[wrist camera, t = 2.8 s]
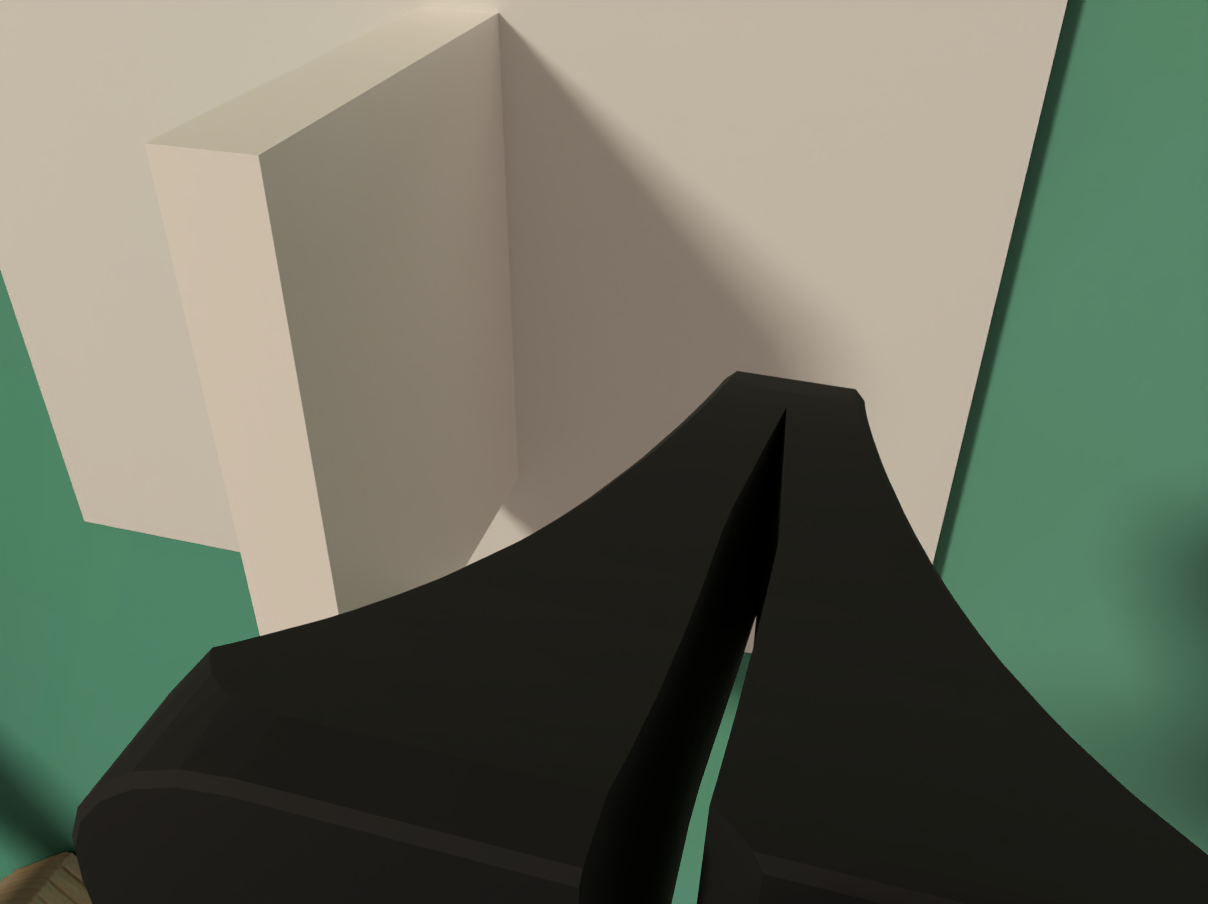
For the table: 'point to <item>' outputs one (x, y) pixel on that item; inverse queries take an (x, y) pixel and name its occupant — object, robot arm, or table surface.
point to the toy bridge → (46, 883)
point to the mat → (560, 222)
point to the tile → (353, 310)
